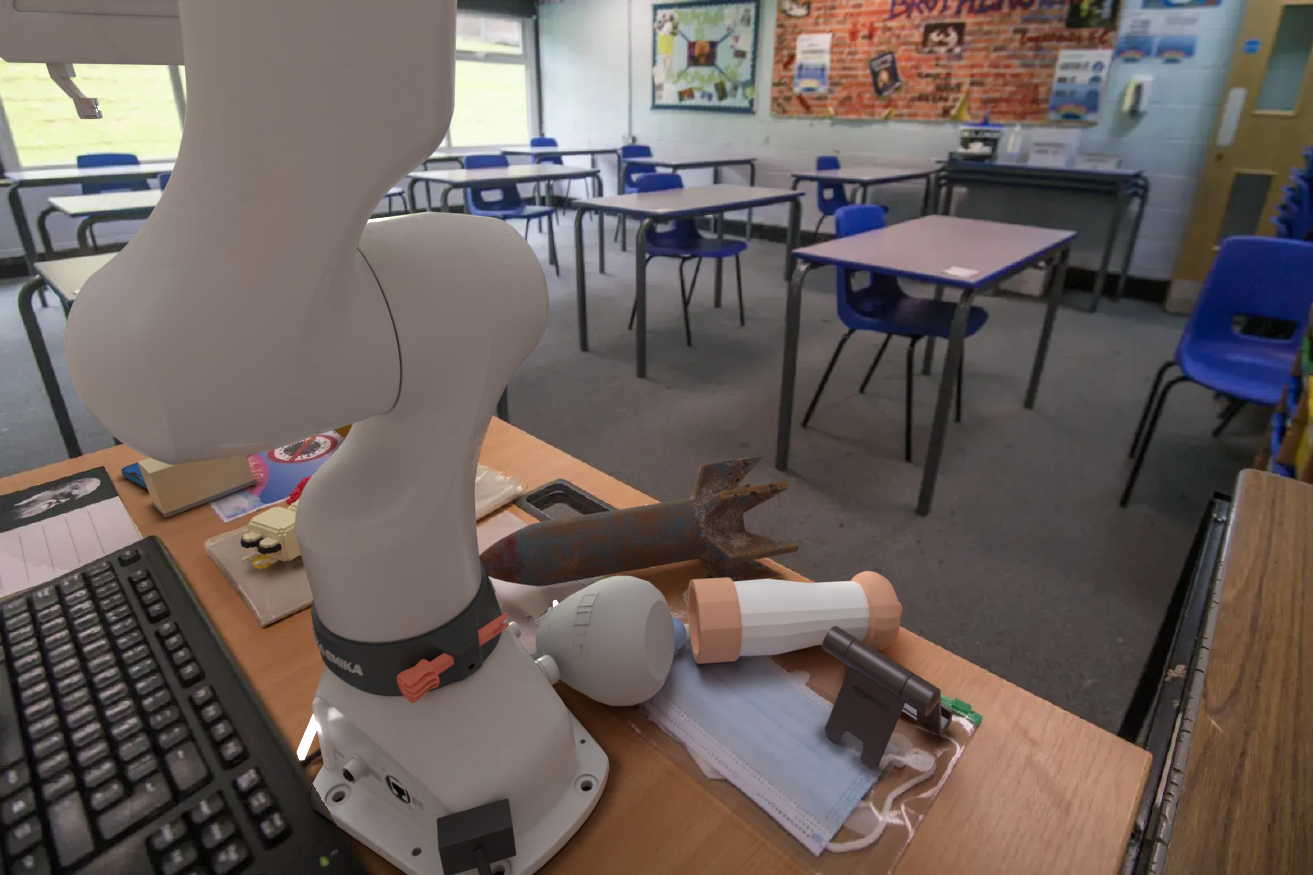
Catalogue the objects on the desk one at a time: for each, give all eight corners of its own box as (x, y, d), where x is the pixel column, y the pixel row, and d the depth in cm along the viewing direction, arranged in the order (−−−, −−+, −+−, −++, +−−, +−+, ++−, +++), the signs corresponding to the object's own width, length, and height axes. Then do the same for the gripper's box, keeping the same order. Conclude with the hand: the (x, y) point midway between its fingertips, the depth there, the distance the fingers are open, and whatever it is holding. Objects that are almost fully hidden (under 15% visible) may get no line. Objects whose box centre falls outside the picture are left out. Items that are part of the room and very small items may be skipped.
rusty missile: (489, 635, 70) (767, 581, 77) (482, 624, 58) (809, 563, 65) (475, 516, 74) (741, 475, 80) (465, 485, 62) (776, 440, 69)
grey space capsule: (626, 701, 50) (488, 695, 54) (680, 713, 58) (557, 707, 63) (638, 559, 54) (509, 564, 59) (686, 590, 63) (570, 592, 67)
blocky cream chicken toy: (389, 467, 94) (217, 558, 73) (381, 406, 91) (199, 484, 69) (448, 483, 91) (287, 584, 69) (444, 420, 87) (272, 507, 66)
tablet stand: (951, 730, 56) (975, 653, 52) (901, 790, 51) (923, 710, 47) (856, 668, 62) (871, 595, 58) (802, 718, 57) (815, 641, 53)
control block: (256, 483, 88) (243, 441, 85) (165, 518, 81) (149, 473, 78) (242, 473, 90) (229, 431, 87) (153, 505, 83) (136, 461, 80)
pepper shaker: (702, 624, 57) (927, 610, 59) (689, 562, 63) (893, 551, 65) (697, 681, 61) (907, 667, 63) (685, 618, 67) (877, 606, 69)
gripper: (-69, -68, 56) (4, 121, 62) (219, -51, 62) (258, 120, 68) (-30, -57, 61) (34, 116, 68) (232, -42, 67) (267, 116, 73)
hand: (149, 118), depth 68 cm, fingers open, 8 cm apart
